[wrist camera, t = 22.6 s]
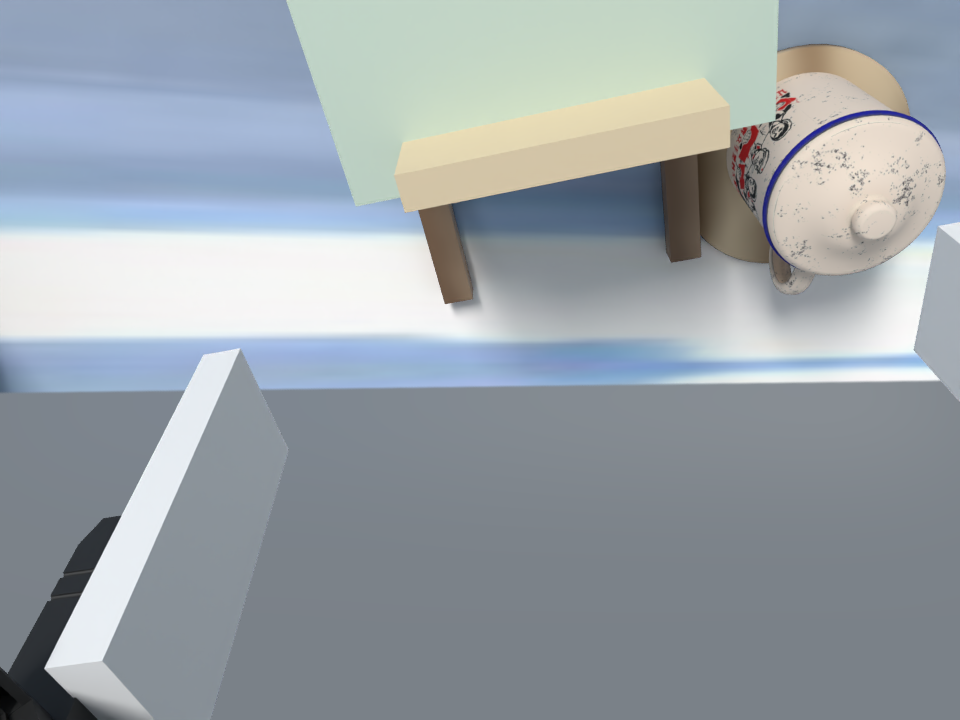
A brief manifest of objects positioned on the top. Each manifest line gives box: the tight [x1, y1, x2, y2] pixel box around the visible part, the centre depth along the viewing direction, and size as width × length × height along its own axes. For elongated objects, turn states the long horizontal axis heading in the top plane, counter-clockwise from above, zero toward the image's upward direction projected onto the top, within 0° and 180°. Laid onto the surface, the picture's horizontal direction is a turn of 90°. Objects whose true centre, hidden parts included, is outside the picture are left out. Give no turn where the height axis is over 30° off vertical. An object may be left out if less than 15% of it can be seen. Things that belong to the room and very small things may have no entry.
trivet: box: [697, 44, 910, 263], centre depth 46 cm, size 14×14×1 cm
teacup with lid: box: [726, 72, 946, 295], centre depth 41 cm, size 12×9×12 cm
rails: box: [418, 154, 701, 304], centre depth 42 cm, size 18×30×2 cm, turn 12°
